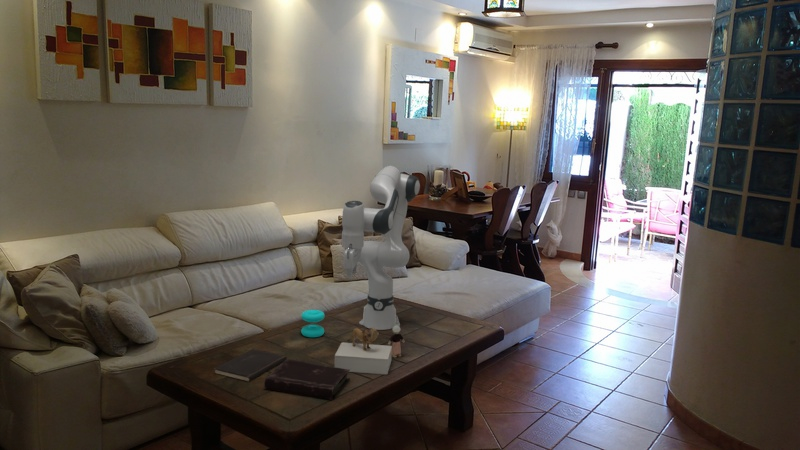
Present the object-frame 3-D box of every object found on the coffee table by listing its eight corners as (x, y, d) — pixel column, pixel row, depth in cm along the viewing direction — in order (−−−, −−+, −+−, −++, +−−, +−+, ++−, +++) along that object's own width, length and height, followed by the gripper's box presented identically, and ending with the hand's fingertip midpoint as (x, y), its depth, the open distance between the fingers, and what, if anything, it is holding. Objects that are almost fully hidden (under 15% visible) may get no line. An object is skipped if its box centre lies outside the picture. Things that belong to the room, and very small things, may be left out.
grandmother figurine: (398, 352, 255) (399, 322, 252) (405, 355, 252) (406, 325, 250) (385, 356, 249) (386, 326, 247) (391, 359, 247) (392, 328, 244)
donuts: (300, 315, 265) (302, 308, 275) (299, 338, 267) (302, 330, 276) (323, 316, 265) (325, 309, 275) (323, 338, 267) (325, 330, 277)
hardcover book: (213, 374, 228) (213, 368, 227) (253, 354, 248) (253, 348, 248) (249, 383, 221) (249, 377, 221) (286, 361, 242) (286, 356, 242)
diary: (332, 402, 209) (332, 388, 208) (264, 391, 216) (264, 378, 215) (350, 380, 227) (351, 367, 226) (287, 370, 233) (287, 357, 232)
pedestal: (341, 356, 248) (341, 342, 247) (391, 360, 246) (392, 345, 245) (334, 370, 234) (334, 355, 233) (387, 374, 232) (387, 359, 231)
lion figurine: (380, 349, 240) (381, 327, 239) (371, 353, 236) (372, 330, 235) (351, 340, 249) (352, 318, 247) (342, 344, 245) (343, 322, 243)
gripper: (356, 247, 237) (355, 283, 239) (364, 238, 257) (363, 270, 260) (339, 246, 238) (339, 282, 240) (349, 237, 258) (348, 269, 260)
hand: (351, 276), depth 250 cm, fingers open, 8 cm apart
